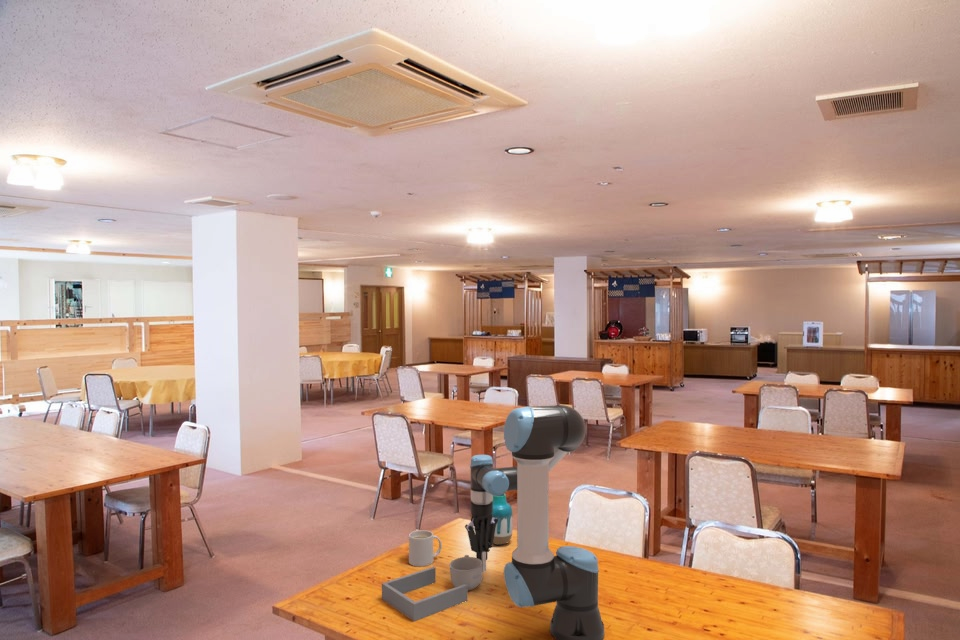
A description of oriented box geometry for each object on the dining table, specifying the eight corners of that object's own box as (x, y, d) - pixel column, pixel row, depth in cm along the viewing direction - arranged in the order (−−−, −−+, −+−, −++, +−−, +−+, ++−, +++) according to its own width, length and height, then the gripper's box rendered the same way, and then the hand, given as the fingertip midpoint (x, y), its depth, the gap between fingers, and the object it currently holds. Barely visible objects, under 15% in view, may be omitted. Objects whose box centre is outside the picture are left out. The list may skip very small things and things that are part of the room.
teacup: (478, 595, 199) (478, 570, 198) (445, 592, 201) (445, 567, 201) (486, 577, 212) (486, 553, 212) (456, 574, 214) (455, 551, 214)
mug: (404, 565, 223) (404, 537, 222) (415, 555, 232) (415, 528, 232) (433, 568, 219) (433, 540, 219) (442, 558, 228) (442, 531, 228)
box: (467, 601, 195) (467, 585, 195) (414, 621, 182) (414, 604, 182) (433, 581, 209) (433, 566, 209) (381, 599, 196) (381, 583, 196)
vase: (481, 540, 246) (481, 492, 246) (505, 536, 251) (505, 489, 250) (493, 549, 236) (493, 499, 236) (517, 545, 241) (517, 496, 241)
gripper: (489, 495, 217) (489, 561, 218) (459, 502, 209) (460, 571, 209) (503, 500, 211) (503, 568, 212) (473, 508, 203) (473, 579, 204)
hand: (481, 570), depth 211 cm, fingers closed
